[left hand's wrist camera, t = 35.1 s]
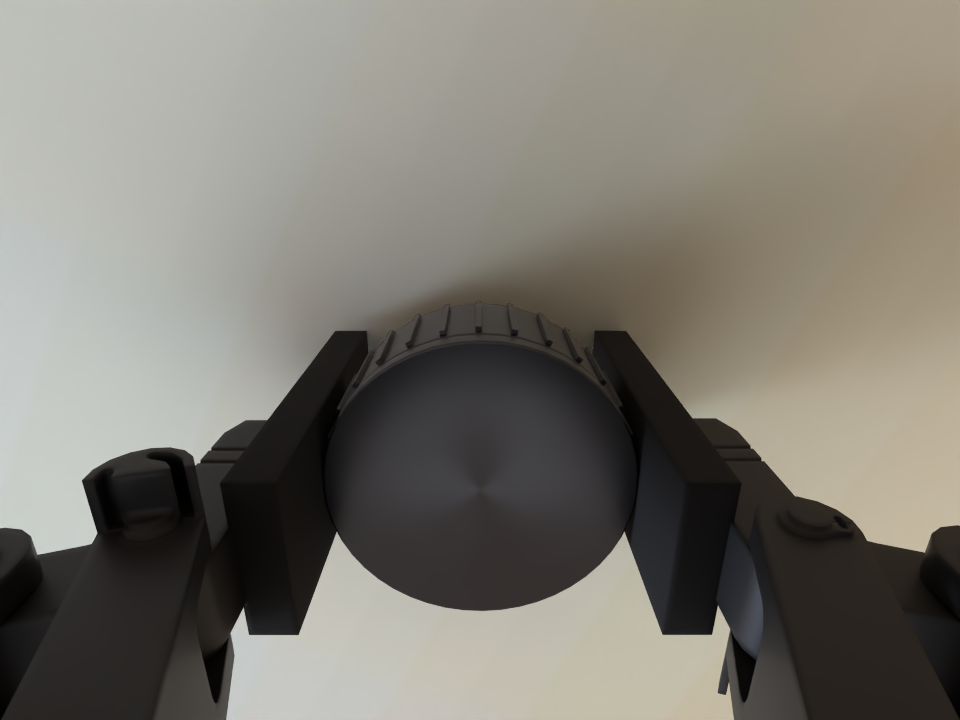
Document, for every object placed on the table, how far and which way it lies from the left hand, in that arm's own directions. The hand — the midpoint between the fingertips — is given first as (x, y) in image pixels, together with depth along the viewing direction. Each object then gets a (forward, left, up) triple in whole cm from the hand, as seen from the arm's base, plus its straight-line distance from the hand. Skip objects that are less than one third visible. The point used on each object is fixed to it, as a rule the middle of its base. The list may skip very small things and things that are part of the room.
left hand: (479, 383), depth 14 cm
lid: (0, 0, +4) cm, 4 cm away
